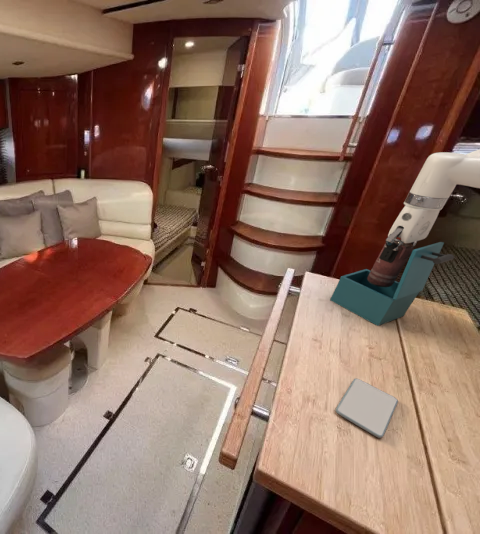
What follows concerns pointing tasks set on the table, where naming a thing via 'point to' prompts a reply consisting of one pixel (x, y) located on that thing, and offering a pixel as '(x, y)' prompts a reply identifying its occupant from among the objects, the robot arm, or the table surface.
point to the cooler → (370, 298)
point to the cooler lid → (420, 269)
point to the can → (389, 267)
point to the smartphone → (367, 407)
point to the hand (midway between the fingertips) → (393, 258)
